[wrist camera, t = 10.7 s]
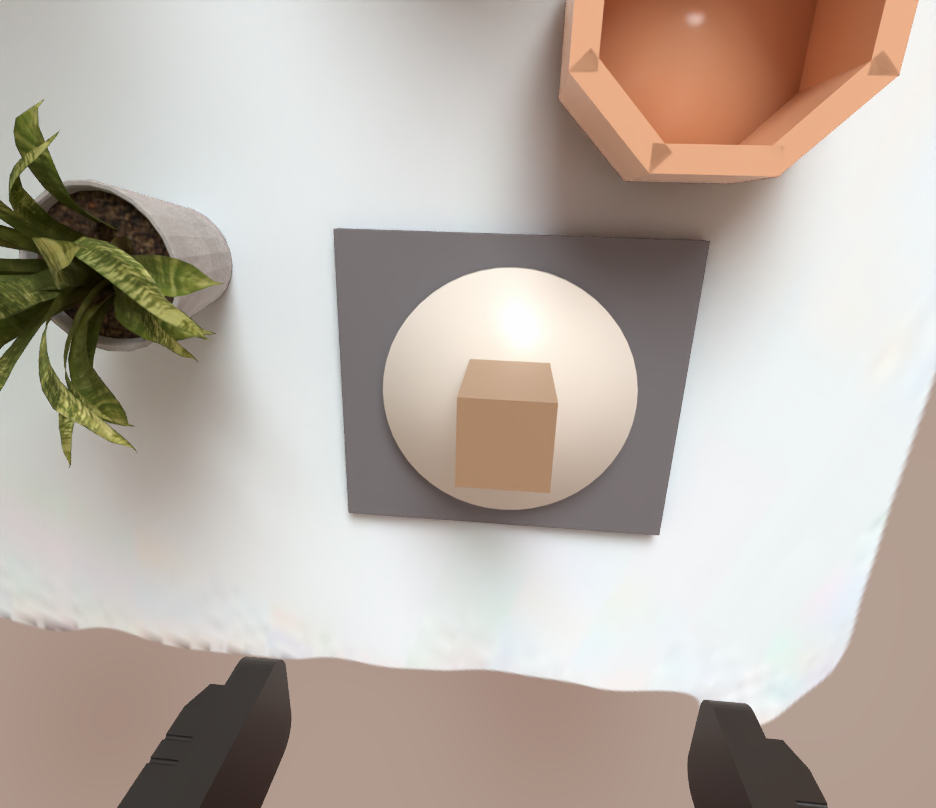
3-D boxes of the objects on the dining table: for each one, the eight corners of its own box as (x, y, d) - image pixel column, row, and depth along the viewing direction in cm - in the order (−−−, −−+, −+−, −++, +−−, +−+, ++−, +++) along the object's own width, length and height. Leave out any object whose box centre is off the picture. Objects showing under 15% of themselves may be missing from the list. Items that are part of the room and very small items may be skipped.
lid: (389, 492, 31) (355, 567, 25) (384, 261, 27) (340, 277, 20) (617, 508, 30) (644, 590, 24) (650, 271, 26) (695, 292, 19)
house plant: (186, 448, 32) (-113, 660, 17) (2, 260, 29) (-561, 312, 14) (359, 303, 28) (173, 410, 13) (167, 70, 26) (-362, -144, 10)
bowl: (551, 180, 26) (560, 171, 20) (572, -113, 22) (591, -225, 16) (792, 186, 25) (872, 179, 19) (857, -117, 21) (980, -237, 15)
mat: (352, 505, 33) (348, 512, 32) (338, 228, 27) (333, 228, 26) (655, 527, 31) (659, 535, 31) (704, 240, 26) (709, 241, 25)
